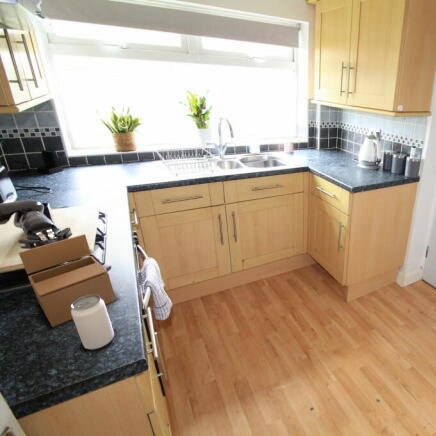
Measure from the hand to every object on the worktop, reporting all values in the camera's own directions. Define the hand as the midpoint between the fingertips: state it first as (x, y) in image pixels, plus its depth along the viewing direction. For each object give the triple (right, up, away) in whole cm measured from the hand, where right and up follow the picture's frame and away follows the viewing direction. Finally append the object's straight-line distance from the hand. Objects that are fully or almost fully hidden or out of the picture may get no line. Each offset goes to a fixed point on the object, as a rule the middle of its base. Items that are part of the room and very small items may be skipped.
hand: (53, 247), depth 92 cm
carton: (+7, -16, +1) cm, 17 cm away
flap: (+2, -2, -1) cm, 3 cm away
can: (+22, -22, -12) cm, 34 cm away
